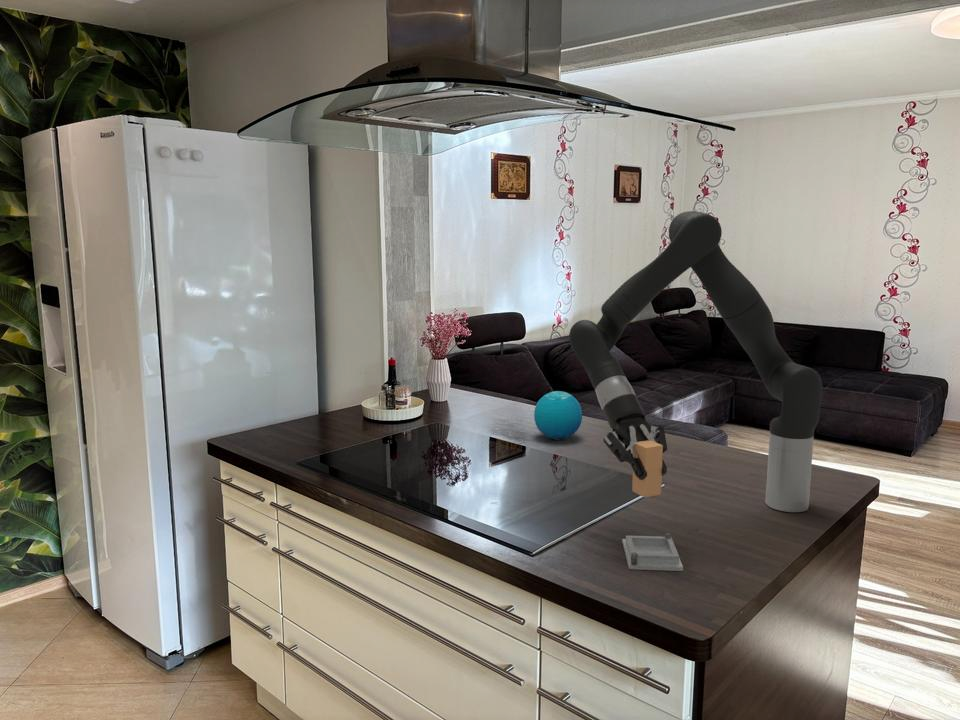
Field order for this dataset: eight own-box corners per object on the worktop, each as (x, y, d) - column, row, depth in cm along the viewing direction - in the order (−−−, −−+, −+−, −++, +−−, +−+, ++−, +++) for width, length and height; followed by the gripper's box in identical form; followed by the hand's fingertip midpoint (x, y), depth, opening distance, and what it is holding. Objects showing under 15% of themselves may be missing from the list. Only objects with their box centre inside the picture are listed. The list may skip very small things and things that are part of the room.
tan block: (632, 490, 141) (633, 442, 139) (648, 487, 143) (650, 440, 141) (644, 497, 137) (645, 448, 136) (661, 494, 139) (662, 445, 137)
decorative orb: (569, 448, 211) (570, 399, 208) (525, 441, 218) (525, 393, 216) (589, 436, 223) (590, 389, 221) (547, 429, 231) (547, 384, 228)
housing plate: (622, 542, 145) (622, 530, 145) (671, 543, 144) (672, 531, 144) (628, 569, 133) (629, 556, 133) (683, 571, 132) (683, 558, 132)
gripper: (597, 396, 141) (631, 472, 132) (655, 389, 146) (692, 462, 137) (582, 416, 146) (614, 490, 137) (639, 408, 152) (674, 479, 143)
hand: (653, 475), depth 137 cm, fingers closed on tan block, 4 cm apart
